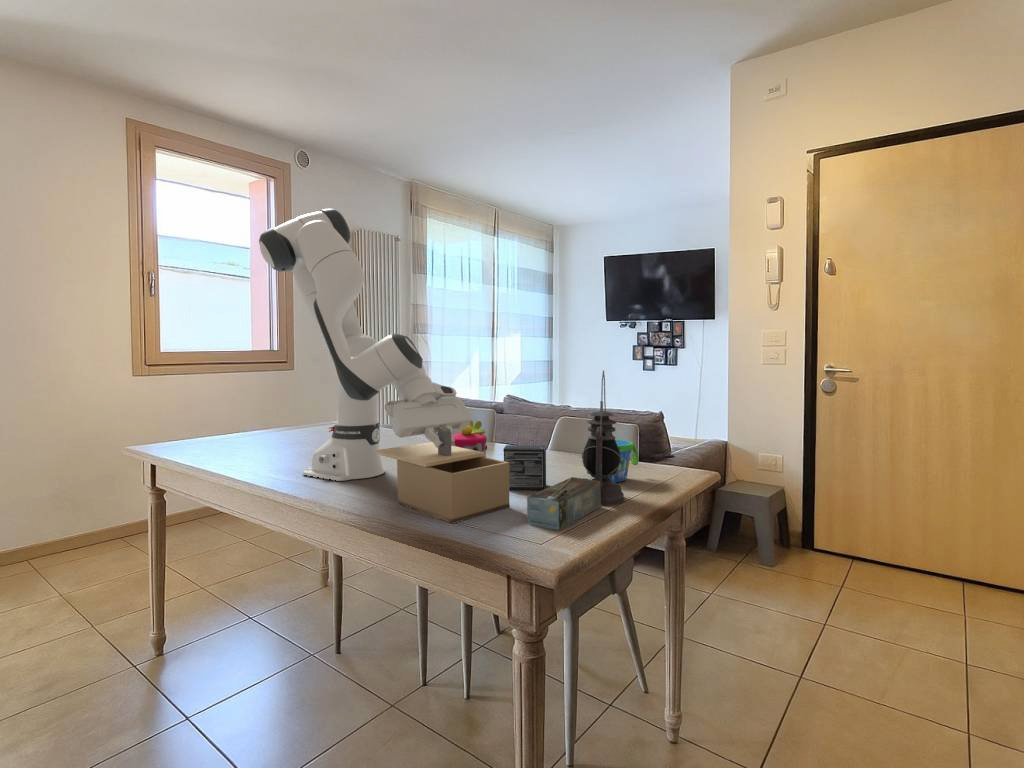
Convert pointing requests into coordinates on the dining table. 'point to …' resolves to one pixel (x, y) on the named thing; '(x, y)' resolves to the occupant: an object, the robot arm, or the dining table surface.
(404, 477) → the cardboard box
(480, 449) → the cake
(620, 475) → the snack cup
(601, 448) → the lantern
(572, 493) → the beverage carton
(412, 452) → the lid flap
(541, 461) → the small box
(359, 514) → the dining table surface
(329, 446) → the robot arm
